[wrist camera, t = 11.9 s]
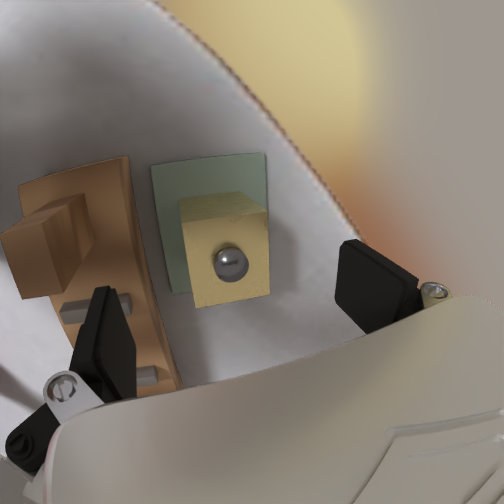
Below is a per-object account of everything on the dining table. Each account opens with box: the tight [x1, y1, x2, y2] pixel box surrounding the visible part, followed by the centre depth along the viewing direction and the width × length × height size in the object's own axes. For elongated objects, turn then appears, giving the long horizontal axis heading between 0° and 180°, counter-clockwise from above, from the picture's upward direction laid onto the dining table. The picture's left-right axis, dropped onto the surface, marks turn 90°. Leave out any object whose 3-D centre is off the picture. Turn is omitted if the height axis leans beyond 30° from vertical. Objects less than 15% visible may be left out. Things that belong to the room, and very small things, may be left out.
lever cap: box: [179, 191, 270, 308], centre depth 17 cm, size 5×4×7 cm
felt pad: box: [150, 153, 270, 295], centre depth 20 cm, size 10×8×1 cm
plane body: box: [0, 155, 184, 397], centre depth 16 cm, size 24×7×10 cm, turn 4°
